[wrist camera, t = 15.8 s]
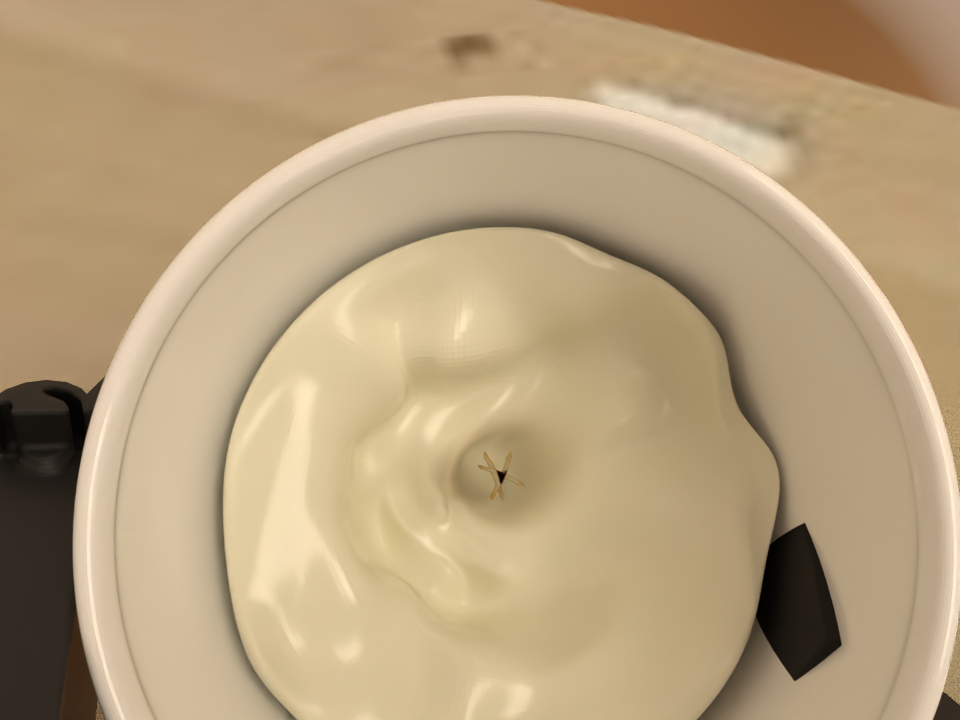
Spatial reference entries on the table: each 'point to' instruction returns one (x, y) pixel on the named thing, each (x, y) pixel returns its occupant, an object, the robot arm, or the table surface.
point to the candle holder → (511, 441)
